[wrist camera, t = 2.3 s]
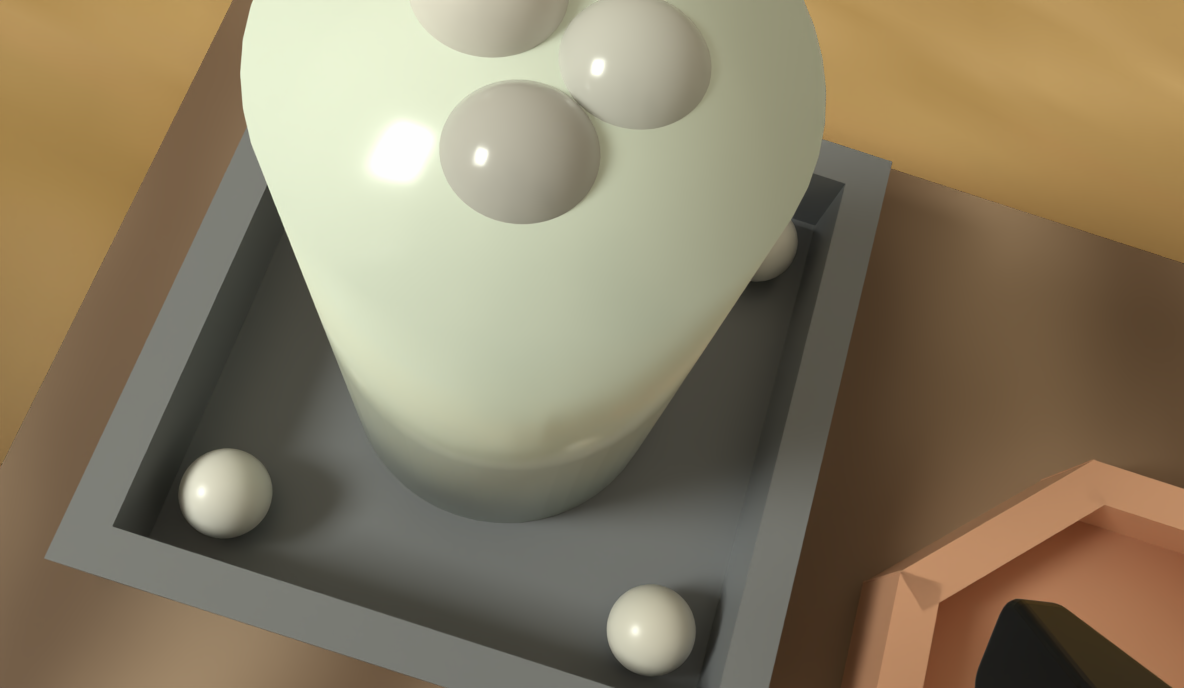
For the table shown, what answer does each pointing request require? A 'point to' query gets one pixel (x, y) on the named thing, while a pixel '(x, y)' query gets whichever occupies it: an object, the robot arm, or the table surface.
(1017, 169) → the table surface
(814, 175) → the parts tray
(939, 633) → the terracotta dish
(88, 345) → the walnut board
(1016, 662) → the robot arm
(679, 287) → the pale green tall cylinder
